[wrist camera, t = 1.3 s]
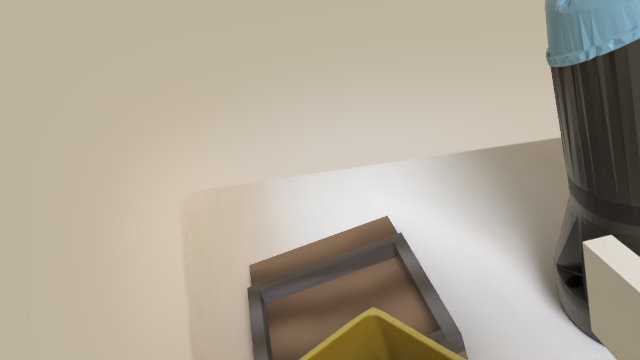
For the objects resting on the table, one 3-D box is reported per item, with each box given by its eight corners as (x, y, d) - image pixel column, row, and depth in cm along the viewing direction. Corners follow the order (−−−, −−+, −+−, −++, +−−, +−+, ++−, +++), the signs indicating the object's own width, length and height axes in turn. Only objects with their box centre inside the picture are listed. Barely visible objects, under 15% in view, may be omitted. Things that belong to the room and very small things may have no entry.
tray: (253, 273, 59) (243, 252, 58) (389, 224, 59) (383, 202, 58) (271, 433, 41) (258, 407, 40) (468, 361, 41) (461, 333, 40)
